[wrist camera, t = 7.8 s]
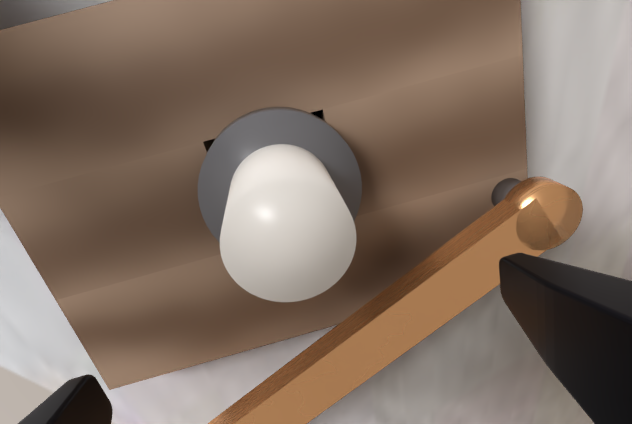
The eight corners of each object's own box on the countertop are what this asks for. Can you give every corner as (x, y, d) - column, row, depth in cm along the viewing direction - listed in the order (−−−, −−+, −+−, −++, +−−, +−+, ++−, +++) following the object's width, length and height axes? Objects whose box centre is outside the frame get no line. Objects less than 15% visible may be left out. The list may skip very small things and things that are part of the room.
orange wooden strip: (112, 491, 20) (104, 516, 19) (544, 163, 17) (564, 171, 16) (156, 514, 22) (150, 540, 20) (572, 210, 18) (593, 221, 17)
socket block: (-35, 52, 17) (-130, 54, 13) (475, -81, 17) (542, -121, 13) (127, 348, 23) (98, 414, 19) (499, 243, 24) (550, 284, 20)
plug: (191, 117, 19) (138, 171, 11) (324, 81, 19) (374, 107, 11) (234, 237, 22) (219, 356, 13) (352, 204, 22) (410, 302, 13)
